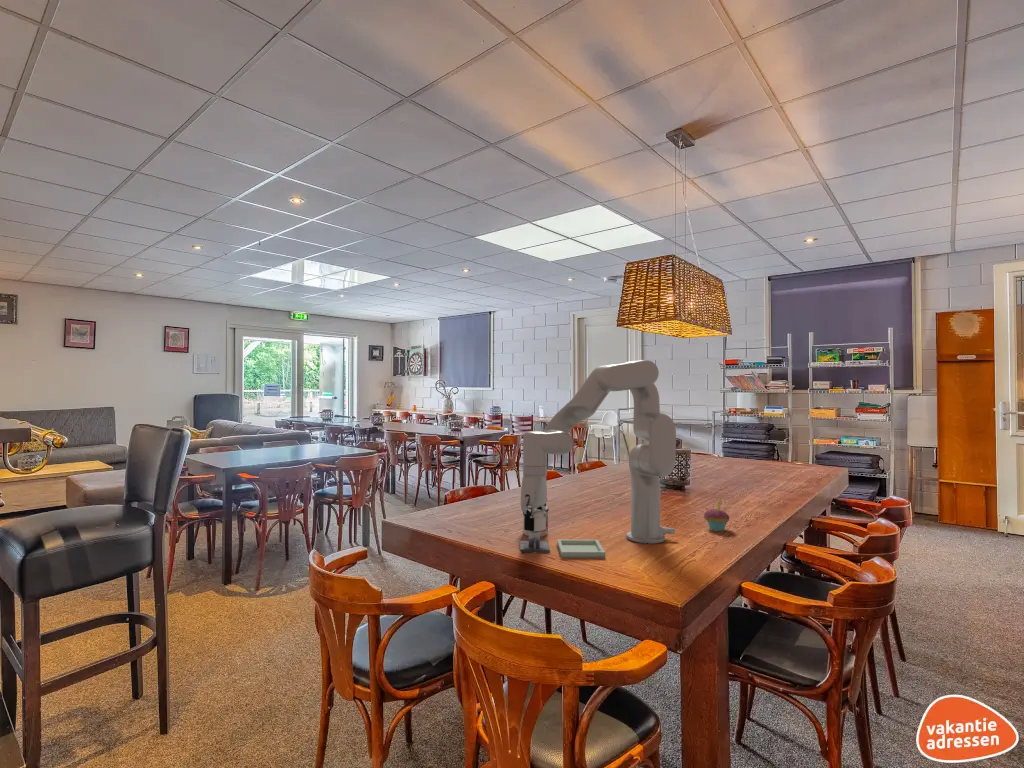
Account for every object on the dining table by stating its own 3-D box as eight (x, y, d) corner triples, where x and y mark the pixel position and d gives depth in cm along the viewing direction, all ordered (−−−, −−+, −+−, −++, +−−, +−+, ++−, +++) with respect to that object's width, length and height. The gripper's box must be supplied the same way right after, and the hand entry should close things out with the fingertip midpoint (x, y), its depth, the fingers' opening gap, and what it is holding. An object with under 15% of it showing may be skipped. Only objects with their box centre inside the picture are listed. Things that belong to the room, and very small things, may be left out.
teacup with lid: (542, 538, 171) (542, 503, 172) (518, 535, 176) (518, 501, 176) (555, 530, 182) (555, 497, 182) (532, 527, 186) (532, 494, 186)
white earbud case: (530, 524, 166) (530, 508, 166) (551, 527, 162) (551, 511, 162) (519, 529, 160) (520, 512, 160) (541, 532, 156) (541, 515, 156)
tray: (597, 545, 165) (597, 539, 165) (605, 558, 152) (605, 552, 152) (557, 545, 164) (557, 539, 164) (561, 558, 151) (561, 552, 151)
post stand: (547, 544, 165) (547, 522, 166) (549, 552, 156) (550, 529, 156) (519, 544, 165) (519, 522, 165) (520, 552, 156) (520, 529, 156)
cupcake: (734, 531, 182) (734, 497, 182) (716, 533, 179) (716, 499, 179) (716, 525, 190) (716, 493, 190) (698, 527, 187) (698, 494, 187)
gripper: (536, 466, 171) (536, 520, 170) (511, 473, 156) (510, 532, 155) (557, 468, 167) (557, 523, 167) (533, 475, 152) (532, 536, 152)
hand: (534, 527), depth 161 cm, fingers closed on white earbud case, 6 cm apart
